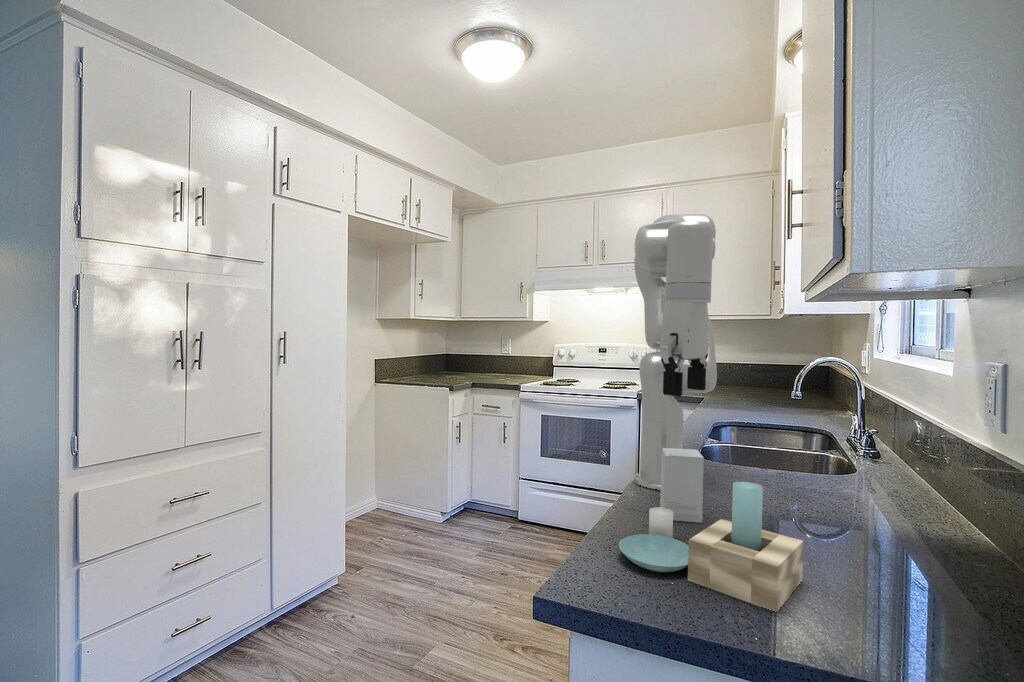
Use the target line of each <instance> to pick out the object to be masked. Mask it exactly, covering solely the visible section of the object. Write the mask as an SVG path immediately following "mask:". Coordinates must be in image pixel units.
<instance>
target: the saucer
mask: <svg viewBox="0 0 1024 682" xmlns="http://www.w3.org/2000/svg"><path fill="white" fill-rule="evenodd" d="M618 548H619V550H620V552H622V554H623V555H624V556H625V557H626V558H627V559H628V560H630V561H631V562H632V563H633V564H635V565H636V566H638V567H640V568H642V569H643V570H644V569H646V570H647V571H650V572H656V573H674V572H677V571H680V570H683V569H685V568H688V551H689V544H687V543H685V542H684V541H681V540H678V539H676V538H674V537H673V538H669V537H665V536H659V535H650V534H649V533H648V534H645V533H643V534H640V533H639V534H634V535H633V534H632V535H628V536H626V537H624V538H622V539H621V540H619V543H618Z"/></svg>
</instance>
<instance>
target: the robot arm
mask: <svg viewBox="0 0 1024 682" xmlns="http://www.w3.org/2000/svg"><path fill="white" fill-rule="evenodd" d="M716 236H717V235H716V225H715V221H714V220H713V218H712V217H710V216H709V215H708V214H704V213H703V214H702V213H690V214H665V215H663V216H660V217H658V218H657V219H655V220H654V221H653V222H652V223H650V224H644V225H642V226H640V227H639V229H638V230H637V231H636V236H635V239H634V254H635V255H634V258H633V259H634V262H633V263H634V264H633V265H634V274H635V279H636V282H637V285H638V288H639V291H640V293H641V295H642V298H643V304H644V305H643V308H644V310H643V311H644V336H645V342H646V344H647V346H648V347H649V348H650V349H653V350H655V351H652V352H649V353H646V354H645V355H643V356H642V357H641V359H640V362H639V366H638V369H639V381H640V387H641V402H642V404H641V445H640V446H641V447H640V449H641V452H640V472H637V473H636V474H634V476H633V481H634V483H635V484H637V485H638V486H640V485H641V486H640V487H643V488H646V487H647V488H646V489H650V488H651V489H650V490H655V489H657V490H656V491H661V453H662V448H675V449H684V446H683V445H684V444H683V442H684V410H683V408H682V406H681V404H680V402H678V401H677V399H676V398H675V397H682V395H683V393H691V394H705V393H706V394H708V393H709V392H712V391H713V390H714V389H715V388H716V385H717V381H718V380H717V379H718V372H717V371H718V370H717V369H718V368H717V359H716V358H717V355H716V348H715V333H714V327H713V324H712V320H711V319H710V317H709V312H708V310H709V309H708V304H711V303H712V302H711V301H712V274H713V259H714V258H715V255H716ZM663 278H665V280H663ZM656 350H657V351H656ZM640 474H641V475H640ZM639 475H640V476H639ZM634 479H635V480H634Z"/></svg>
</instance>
